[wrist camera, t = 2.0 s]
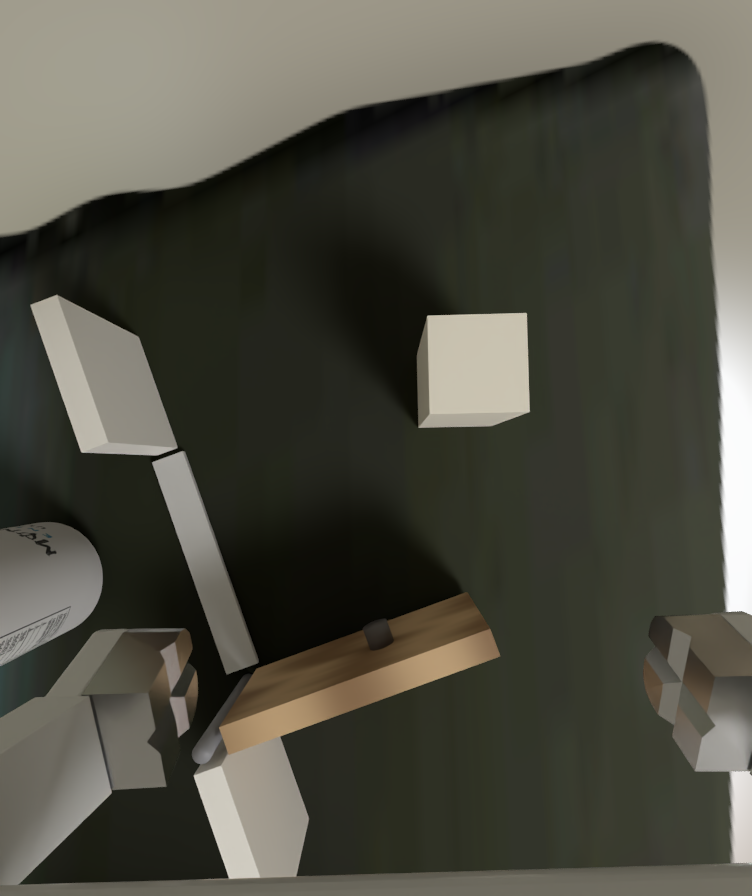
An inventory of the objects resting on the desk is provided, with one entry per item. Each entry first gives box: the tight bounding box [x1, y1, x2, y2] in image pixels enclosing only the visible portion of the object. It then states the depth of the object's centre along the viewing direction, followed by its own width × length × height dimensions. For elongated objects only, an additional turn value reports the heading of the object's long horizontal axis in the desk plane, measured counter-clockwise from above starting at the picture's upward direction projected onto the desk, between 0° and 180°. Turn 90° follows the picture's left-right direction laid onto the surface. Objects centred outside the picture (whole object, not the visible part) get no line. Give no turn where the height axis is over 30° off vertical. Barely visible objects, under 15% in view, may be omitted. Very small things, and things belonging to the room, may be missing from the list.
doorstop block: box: [417, 313, 530, 428], centre depth 26 cm, size 4×4×8 cm
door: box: [219, 592, 500, 755], centre depth 26 cm, size 12×2×6 cm, turn 110°
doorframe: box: [30, 295, 309, 879], centre depth 26 cm, size 28×2×8 cm, turn 20°
